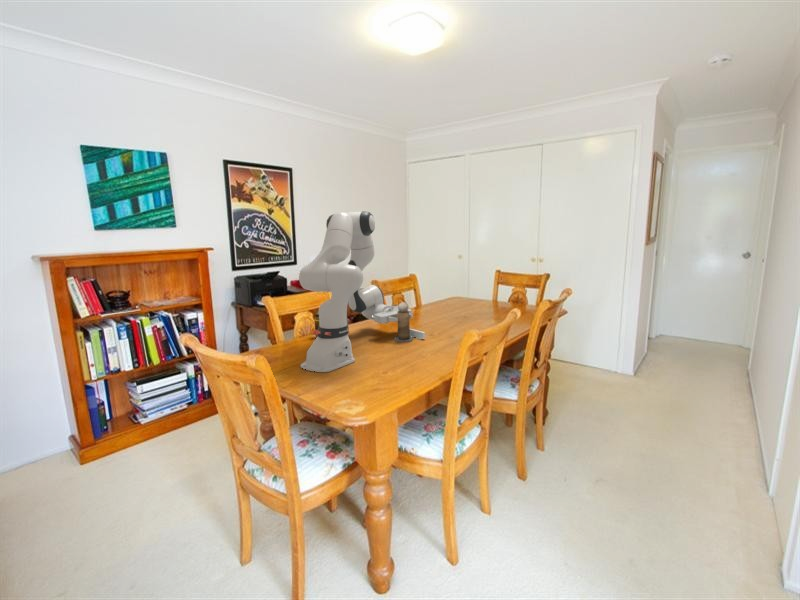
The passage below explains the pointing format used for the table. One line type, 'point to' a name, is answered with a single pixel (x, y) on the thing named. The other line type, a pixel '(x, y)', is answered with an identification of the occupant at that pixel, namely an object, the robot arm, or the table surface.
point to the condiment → (316, 322)
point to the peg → (403, 321)
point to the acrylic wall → (417, 334)
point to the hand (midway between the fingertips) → (404, 318)
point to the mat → (403, 340)
